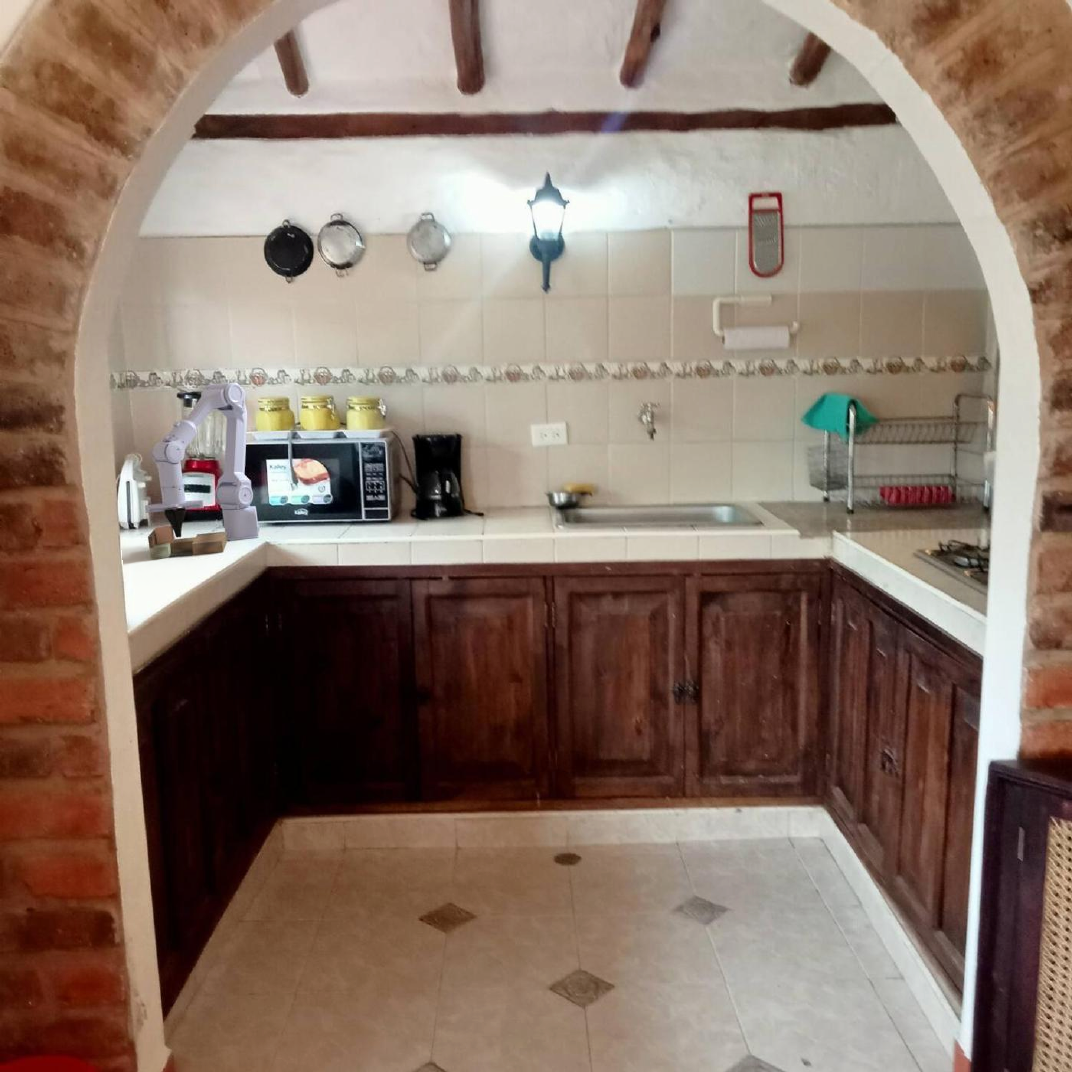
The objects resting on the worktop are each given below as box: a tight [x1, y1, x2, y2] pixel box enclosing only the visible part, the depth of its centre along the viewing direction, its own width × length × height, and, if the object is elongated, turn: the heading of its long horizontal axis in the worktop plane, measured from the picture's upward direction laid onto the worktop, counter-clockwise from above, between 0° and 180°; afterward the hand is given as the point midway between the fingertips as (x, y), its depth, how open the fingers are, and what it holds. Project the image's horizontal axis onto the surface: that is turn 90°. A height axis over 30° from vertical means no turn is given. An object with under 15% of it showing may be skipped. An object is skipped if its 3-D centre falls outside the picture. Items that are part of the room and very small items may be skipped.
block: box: [154, 524, 175, 544], centre depth 252 cm, size 4×4×4 cm
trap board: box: [147, 528, 228, 560], centre depth 254 cm, size 18×16×6 cm
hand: (178, 536), depth 253 cm, fingers closed
